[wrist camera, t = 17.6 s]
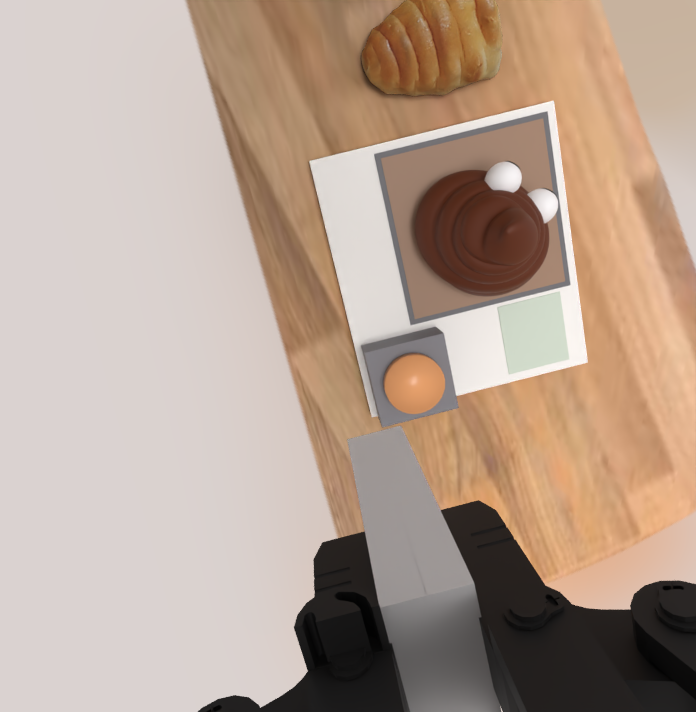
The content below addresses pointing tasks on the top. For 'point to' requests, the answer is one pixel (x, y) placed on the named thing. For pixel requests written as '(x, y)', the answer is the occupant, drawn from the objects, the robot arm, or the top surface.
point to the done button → (414, 383)
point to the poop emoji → (485, 229)
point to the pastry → (434, 46)
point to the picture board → (427, 289)
